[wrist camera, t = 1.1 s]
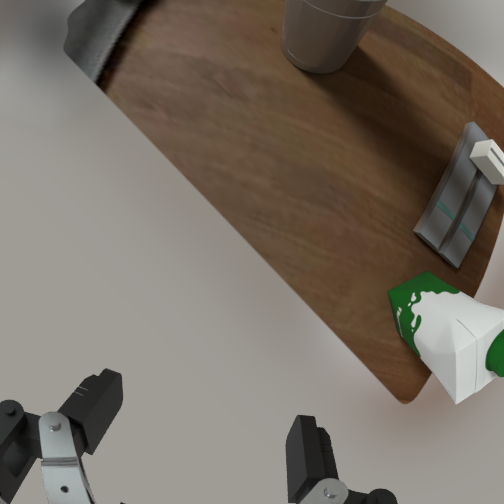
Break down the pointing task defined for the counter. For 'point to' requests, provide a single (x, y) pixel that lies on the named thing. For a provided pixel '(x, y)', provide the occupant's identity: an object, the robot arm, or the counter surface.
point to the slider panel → (457, 202)
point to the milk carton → (450, 333)
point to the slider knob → (489, 160)
